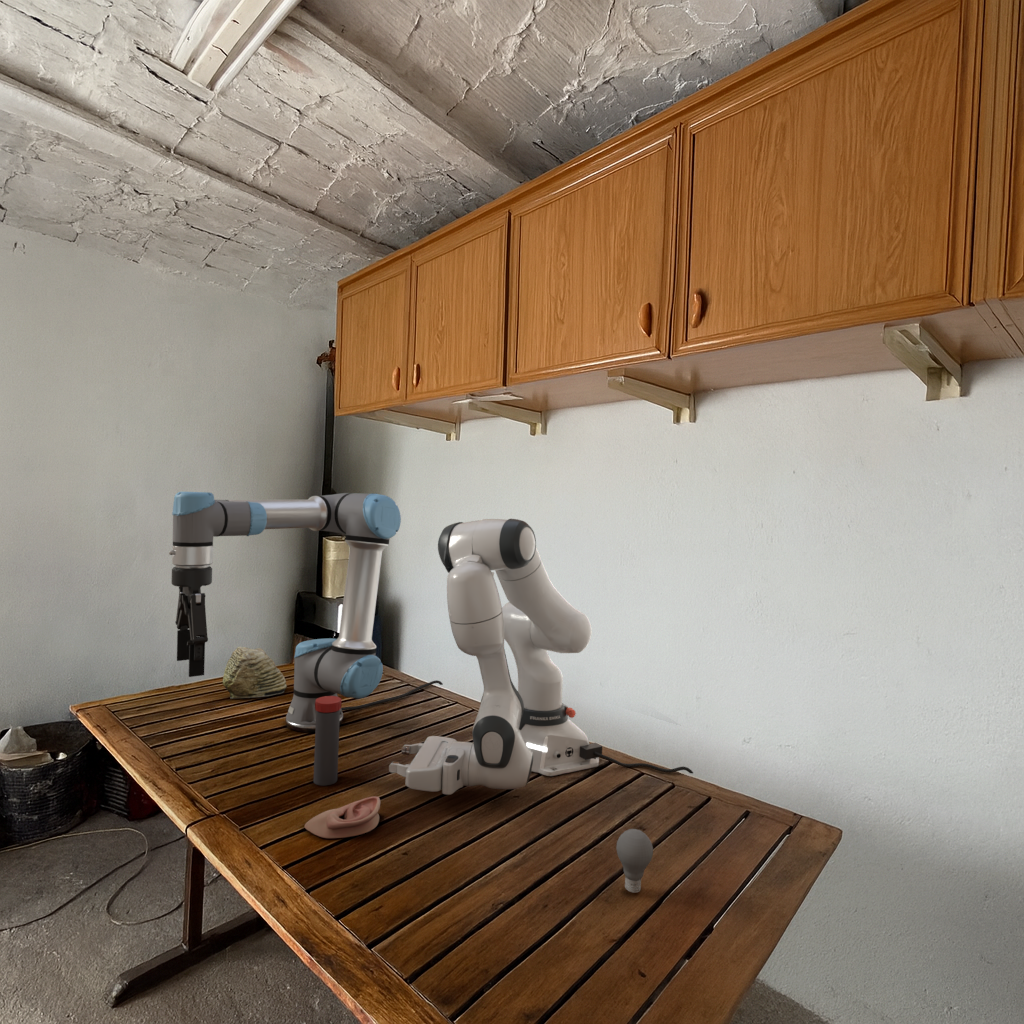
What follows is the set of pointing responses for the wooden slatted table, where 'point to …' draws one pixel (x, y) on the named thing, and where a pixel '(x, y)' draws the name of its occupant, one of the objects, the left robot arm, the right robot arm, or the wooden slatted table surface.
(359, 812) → the anatomical model
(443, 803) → the wooden slatted table surface
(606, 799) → the wooden slatted table surface
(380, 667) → the left robot arm
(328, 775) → the jar
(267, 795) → the wooden slatted table surface
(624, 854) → the light bulb
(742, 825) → the wooden slatted table surface
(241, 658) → the fossil
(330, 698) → the lid
